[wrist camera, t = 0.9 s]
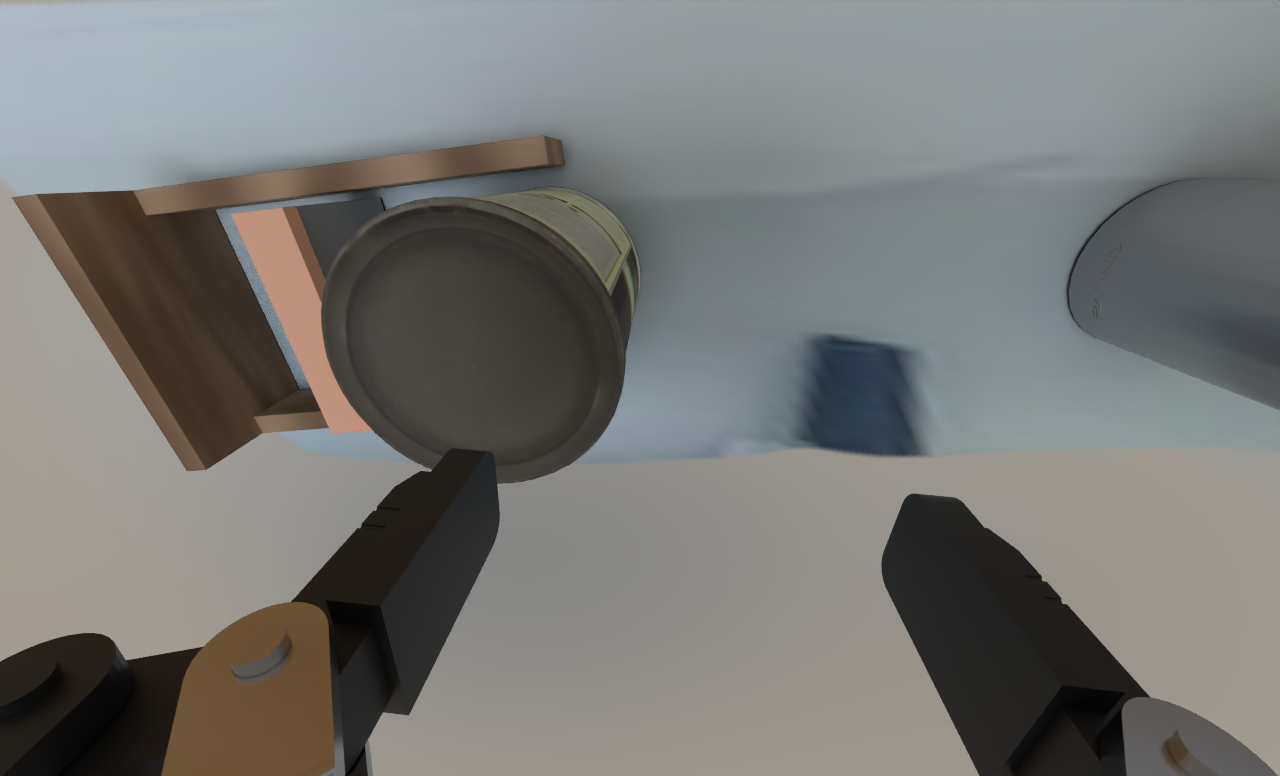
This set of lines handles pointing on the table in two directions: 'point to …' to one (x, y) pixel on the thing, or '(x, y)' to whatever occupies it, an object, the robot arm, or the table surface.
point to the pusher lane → (215, 287)
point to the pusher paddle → (306, 284)
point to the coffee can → (485, 326)
